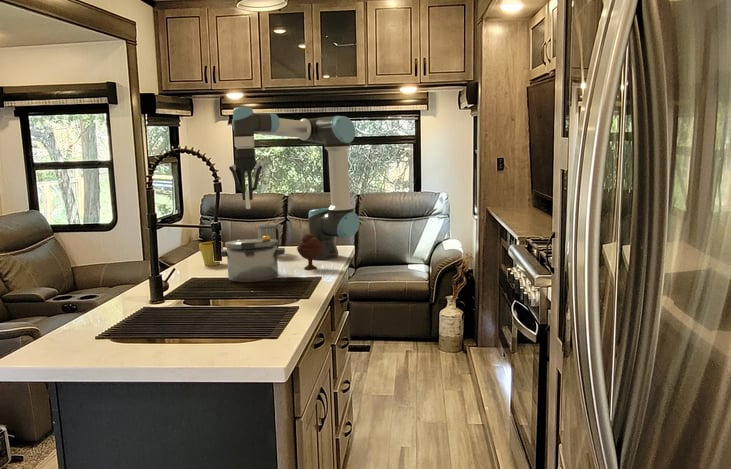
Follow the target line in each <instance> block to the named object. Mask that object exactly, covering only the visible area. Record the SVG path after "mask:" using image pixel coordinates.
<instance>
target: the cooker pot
mask: <svg viewBox="0 0 731 469" xmlns="http://www.w3.org/2000/svg"><path fill="white" fill-rule="evenodd" d="M285 249H286V247H278V248H277V246H272V247H264V248H251V249H232V248H226V249H223V250H221V254H222V257H221V258H226V259H227V260H226V262H227V276H228V280H229V281H233V282H241V283H244V282H245V283H250V282H251V283H253V282H262V281H263V282H264V281H268V280H272V279H276V278H277V277H278V276H279V267H278V266H279V265H278V256H281V255H283V256H284V255H285V252H286V250H285ZM277 255H278V256H277Z"/></svg>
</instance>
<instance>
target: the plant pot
mask: <svg viewBox="0 0 731 469" xmlns="http://www.w3.org/2000/svg"><path fill="white" fill-rule="evenodd" d="M212 242H213V241H206V242H205V241H204V242H201V243H199V245H198V246H199V252H201V257H202V260H203V263H204V265H205V266H209V267H211V266H218V264H219V265H220V264H221V261H220V262H214V261H213V244H212ZM220 242H221V247H222V250H224V242H222V241H220Z"/></svg>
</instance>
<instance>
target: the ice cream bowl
mask: <svg viewBox="0 0 731 469" xmlns="http://www.w3.org/2000/svg"><path fill="white" fill-rule="evenodd" d="M322 248H323V247H322V246H321V243H320V241H319V240H318V239H317V238H314V236H313V235H311V234H309V233H305V234H304V235H303V236H302V237H301V241H300V242H299V243H298V245H297V247H296V250H297V252H298V254H299V255H300V256H301V257H302V258H303V259H305V260H307V261H308V265H305V266H304V267H303V270H305V271H313V270H317V269H318V267H317V266H316V265H314V264H313V261H314V260H315V259H314V258H316V257H318V256H319V255H320V254H321V252H322Z"/></svg>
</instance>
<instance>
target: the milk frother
mask: <svg viewBox="0 0 731 469" xmlns="http://www.w3.org/2000/svg"><path fill="white" fill-rule="evenodd" d="M256 228H257V236H258V238H257V239H263V236H270V239H274V240H278V245H276V246H277V248H280V247H279V244H280V243H279V242H280V241H279V240H280V239H279V237H280V236H279V235H280V234H279V228H278V227H277V225H275V224H261V225H258V226H257V227H256ZM278 256H279V255H277V257H278Z"/></svg>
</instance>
